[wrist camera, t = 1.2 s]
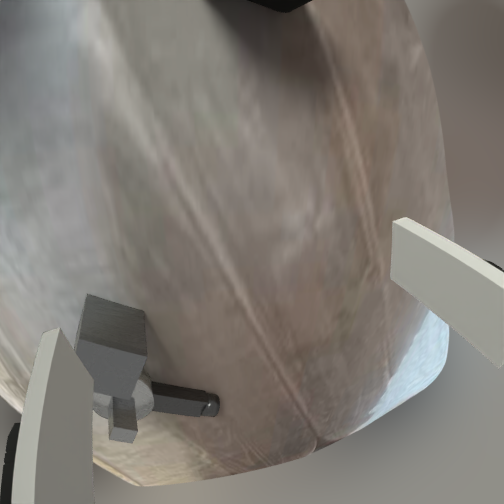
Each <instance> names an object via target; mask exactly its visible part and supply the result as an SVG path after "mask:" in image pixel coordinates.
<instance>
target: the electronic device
mask: <svg viewBox="0 0 504 504" xmlns="http://www.w3.org/2000/svg"><path fill="white" fill-rule="evenodd" d="M249 1H251V2H254V3H257V4H260V5H263V6H265V7H268V8H271V9H273V10H276V11H279V12H283V13H288V12H290V11H292V10H294V9H296V8H298V7H300V6H302V5H304V4H306V3H308V2H310V1H312V0H249Z"/></svg>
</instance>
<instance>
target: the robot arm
mask: <svg viewBox="0 0 504 504" xmlns="http://www.w3.org/2000/svg"><path fill="white" fill-rule="evenodd" d="M390 279H392V280H393V281H394V282H396V283H397V284H398V285H399V286H401V287H402V288H403V289H405V290H406V291H407V292H408V293H410V294H411V295H412V296H413V297H415V298H416V299H417V300H418V301H420V302H421V303H422V304H423V305H425V306H426V307H427V308H428V309H430V310H431V311H432V312H433V313H435V314H436V315H437V316H438V317H439V318H441V319H442V320H443V321H444V322H445V323H447V324H448V325H449V326H450V327H451V328H453V329H454V330H455V331H456V332H457V333H459V334H460V335H461V336H462V337H463V338H464V339H466V340H467V341H468V342H469V343H470V344H471V345H473V346H474V347H475V348H476V349H477V350H478V351H480V352H481V353H482V354H483V355H484V356H485V357H486V358H488V359H489V360H490V361H491V362H492V363H493V364H494V365H495V366H497V367H498V368H499V369H500V368H501V367H502V366H503V365H504V270H502V268H500V267H499V266H497V265H495V264H494V263H492V262H490V261H486V260H484V259H481V258H479V257H477V256H476V255H474V254H472V253H471V252H469V251H467V250H466V249H464V248H462V247H460V246H458V245H457V244H455V243H453V242H452V241H450V240H448V239H446V238H444V237H443V236H441V235H439V234H437V233H435V232H434V231H432V230H430V229H428V228H426V227H424V226H422V225H420V224H419V223H417V222H415V221H413V220H411V219H409V218H407V217H404V218H401V219H398V220H395V221H393V228H392V256H391V274H390ZM93 388H94V379H93V378H92V377H91V375H90V374H89V372H88V371H87V369H86V368H85V366H84V365H83V363H82V362H81V360H80V359H79V357H78V356H77V354H76V353H75V351H74V350H73V348H72V347H71V345H70V343H69V342H68V340H67V339H66V337H65V335H64V334H63V332H62V330H61V329H60V328H57V329H54V330H50V331H47V332H44V333H43V335H42V338H41V341H40V345H39V348H38V351H37V355H36V359H35V362H34V366H33V370H32V374H31V378H30V382H29V386H28V390H27V394H26V399H25V404H24V408H23V413H22V419H21V423H15V424H14V426H13V428H12V430H11V432H10V434H9V436H8V440H7V446H6V452H7V453H5V458H4V463H5V465H4V466H3V474H2V483H1V495H0V504H95V497H94V482H93V458H92V414H93Z"/></svg>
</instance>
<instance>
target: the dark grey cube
mask: <svg viewBox="0 0 504 504" xmlns="http://www.w3.org/2000/svg"><path fill="white" fill-rule="evenodd" d="M74 351H75V353H76V354H77V356H78V357H79V359H80V360H81V362H82V363H83V365H84V366H85V368H86V369H87V371H88V372H89V374H90V375H91V377H92V378H93V379H94V388H93V392H96V393H100V394H104V395H108V396H113V397H117V398H122V399H127V400H130V398H131V396H132V393H133V391H134V388H135V386H136V384H137V381H138V379H139V376H140V374H141V371H142V369H143V366H144V364H145V362H146V359H147V347H146V337H145V325H144V311H141V310H138V309H135V308H131V307H128V306H124V305H121V304H118V303H115V302H111V301H108V300H105V299H102V298H99V297H96V296H92V295H89V294H87V297H86V300H85V304H84V308H83V311H82V315H81V319H80V323H79V327H78V331H77V335H76V340H75V346H74Z"/></svg>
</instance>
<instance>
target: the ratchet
mask: <svg viewBox="0 0 504 504" xmlns="http://www.w3.org/2000/svg"><path fill="white" fill-rule="evenodd" d="M219 408H220V401H219V397H218V396H217V395H216V394H209V393H206V392H205V391H202V390H196V389H190V388H183V387H178V386H172V385H167V384H161V383H156V382H151V378H150V376H149V375H148V373H147V372H146V371H145V370H144V369H142V371H141V374H140V376H139V379H138V381H137V384H136V386H135V388H134V391H133V393H132V396H131V398H130V400H127V399H122V398H117V397H113V396H108V395H104V394H100V393H96V392H93V410H94V411H95V412H96V413H97V414H99V415H100V416H102V417H104V418H106V419H108V424H109V440H115V441H120V442H127V443H133V441H134V439H135V436H136V434H137V432H138V428H137V420H139V419H141V418H143V417H145V416H147V415H148V414H149V413H150V412H151V411H158V412H164V413H171V414H178V415H186V416H194V417H200V416H211V417H215V416H216V415H217V414H218V411H219Z"/></svg>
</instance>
